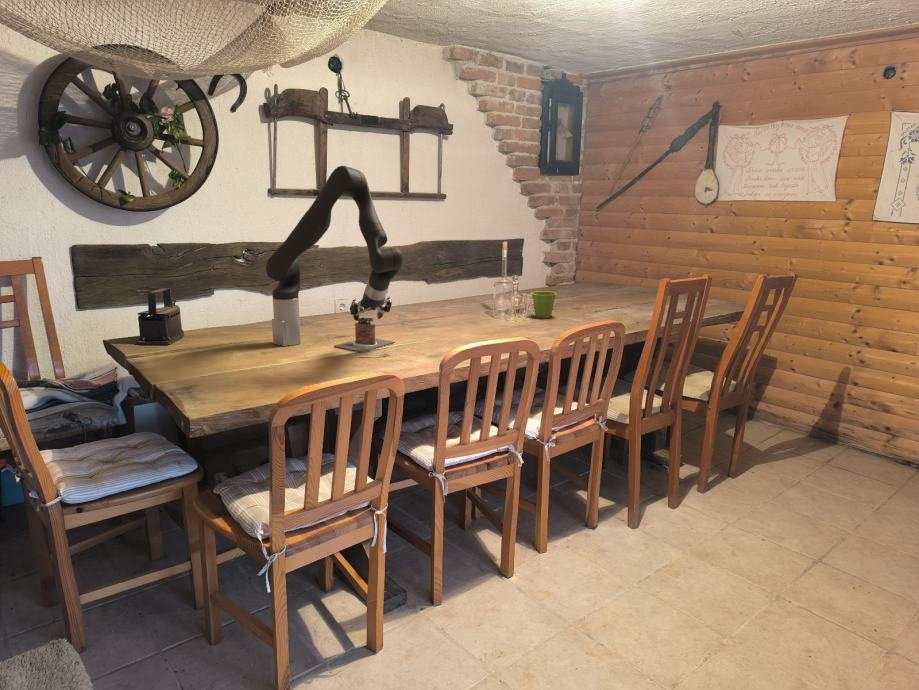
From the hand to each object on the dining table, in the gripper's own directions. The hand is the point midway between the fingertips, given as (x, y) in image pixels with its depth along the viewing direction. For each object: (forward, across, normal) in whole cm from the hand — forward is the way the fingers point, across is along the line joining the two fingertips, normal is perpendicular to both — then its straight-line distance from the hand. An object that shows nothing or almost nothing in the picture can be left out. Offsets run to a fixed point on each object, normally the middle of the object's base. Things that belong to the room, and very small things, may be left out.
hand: (367, 317), depth 227 cm
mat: (+10, 0, +5) cm, 12 cm away
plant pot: (+26, -91, -10) cm, 95 cm away
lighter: (+10, 0, +5) cm, 11 cm away
